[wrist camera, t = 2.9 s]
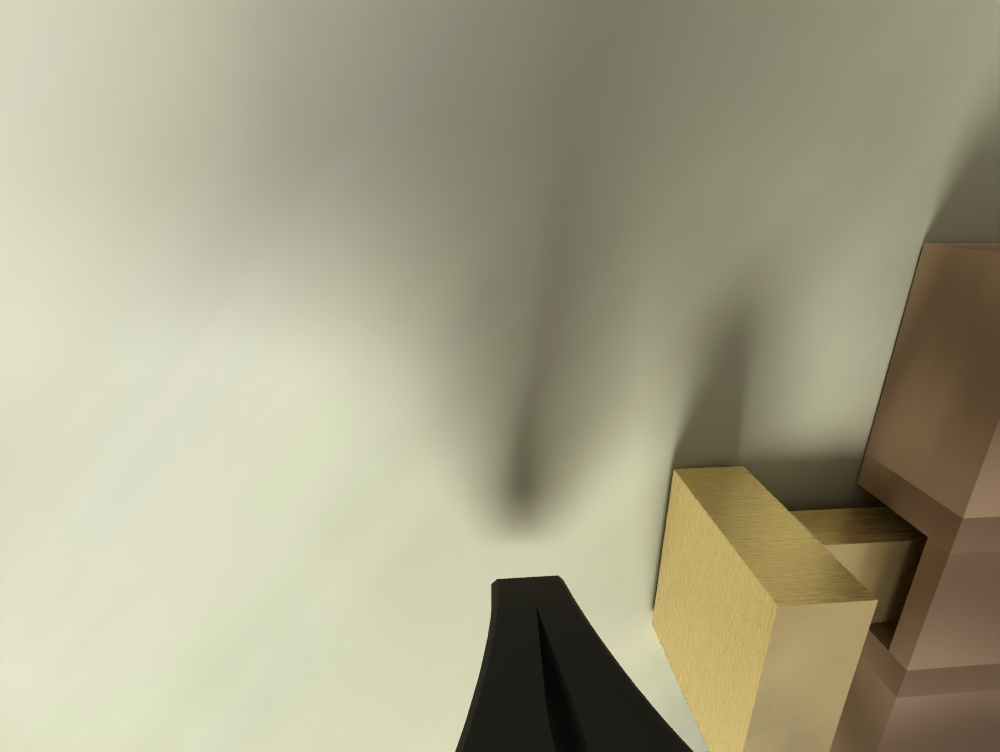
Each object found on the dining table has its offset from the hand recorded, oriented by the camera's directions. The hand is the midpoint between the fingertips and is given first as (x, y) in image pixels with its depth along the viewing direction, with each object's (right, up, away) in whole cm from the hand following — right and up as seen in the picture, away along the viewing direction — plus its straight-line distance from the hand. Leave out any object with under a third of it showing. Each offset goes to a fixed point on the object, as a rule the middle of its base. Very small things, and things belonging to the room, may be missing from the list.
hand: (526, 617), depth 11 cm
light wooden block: (+6, +1, +2) cm, 6 cm away
